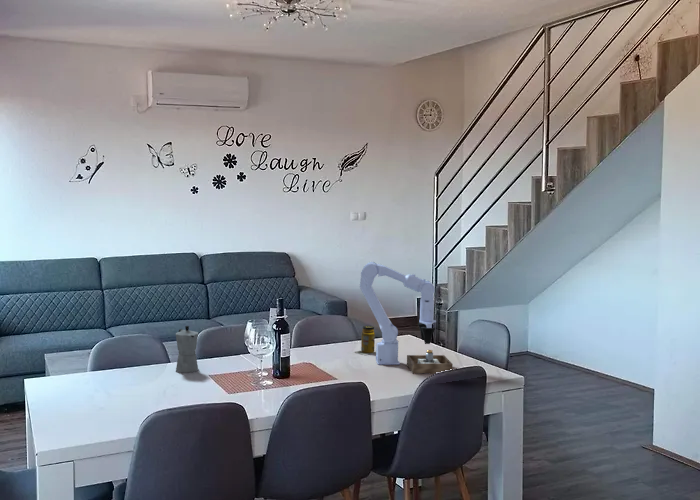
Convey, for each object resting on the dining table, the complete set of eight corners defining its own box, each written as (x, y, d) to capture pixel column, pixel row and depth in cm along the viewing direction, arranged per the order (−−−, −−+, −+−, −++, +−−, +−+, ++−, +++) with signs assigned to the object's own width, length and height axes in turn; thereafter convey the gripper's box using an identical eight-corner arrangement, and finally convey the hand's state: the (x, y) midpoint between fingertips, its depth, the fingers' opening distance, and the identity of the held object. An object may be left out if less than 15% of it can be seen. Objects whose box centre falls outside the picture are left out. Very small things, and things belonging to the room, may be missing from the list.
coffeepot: (204, 372, 279) (204, 327, 278) (181, 375, 274) (181, 329, 273) (190, 364, 292) (190, 321, 291) (168, 367, 287) (168, 323, 286)
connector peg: (426, 367, 290) (426, 351, 290) (424, 366, 293) (425, 349, 293) (433, 367, 290) (433, 351, 290) (432, 366, 293) (432, 349, 293)
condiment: (378, 352, 321) (378, 326, 320) (365, 355, 315) (365, 328, 314) (367, 350, 326) (367, 324, 326) (353, 352, 321) (354, 326, 320)
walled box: (413, 373, 283) (413, 364, 283) (406, 364, 299) (407, 355, 299) (452, 373, 285) (452, 364, 284) (443, 364, 300) (444, 355, 300)
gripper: (439, 313, 291) (438, 345, 292) (433, 307, 306) (432, 338, 307) (422, 312, 291) (421, 345, 292) (417, 307, 305) (416, 338, 306)
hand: (425, 341), depth 299 cm, fingers open, 7 cm apart
